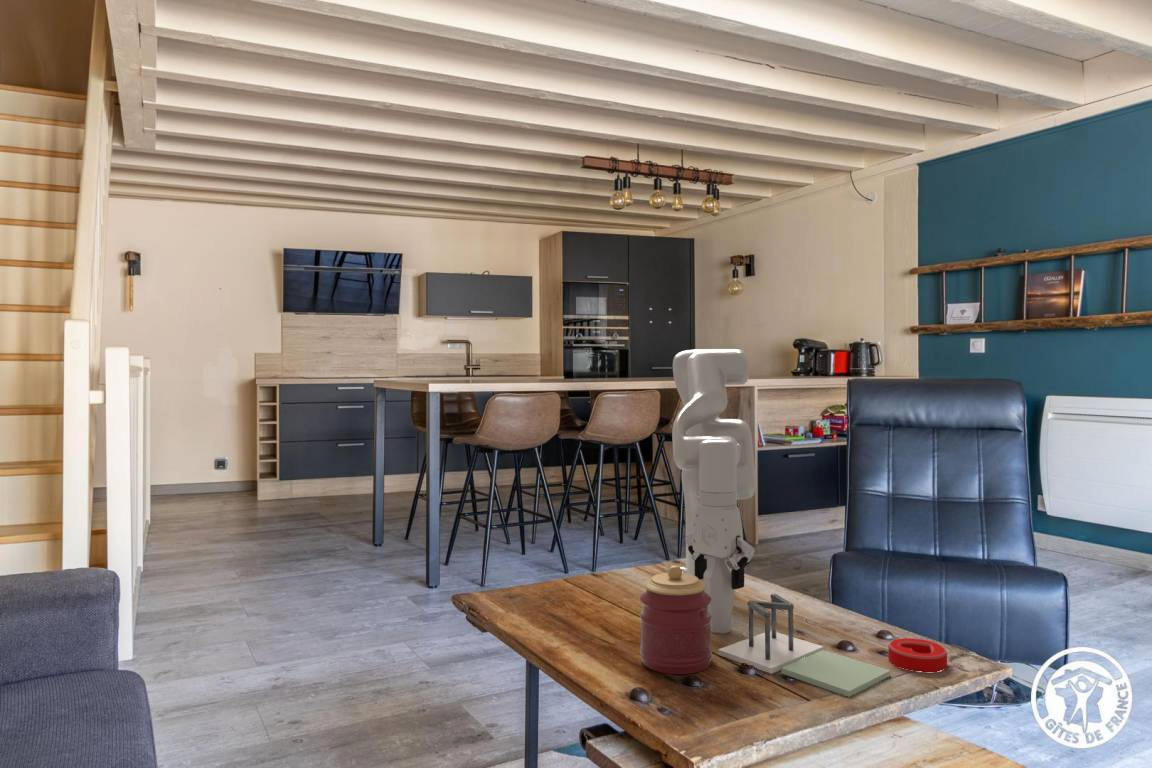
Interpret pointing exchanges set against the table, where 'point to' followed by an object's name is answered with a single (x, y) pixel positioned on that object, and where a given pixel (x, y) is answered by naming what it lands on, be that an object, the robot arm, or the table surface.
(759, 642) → the wire board
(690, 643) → the canister
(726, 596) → the faceted bottle
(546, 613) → the table surface
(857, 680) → the pale green flat panel
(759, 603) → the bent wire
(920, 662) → the decorative ornament
